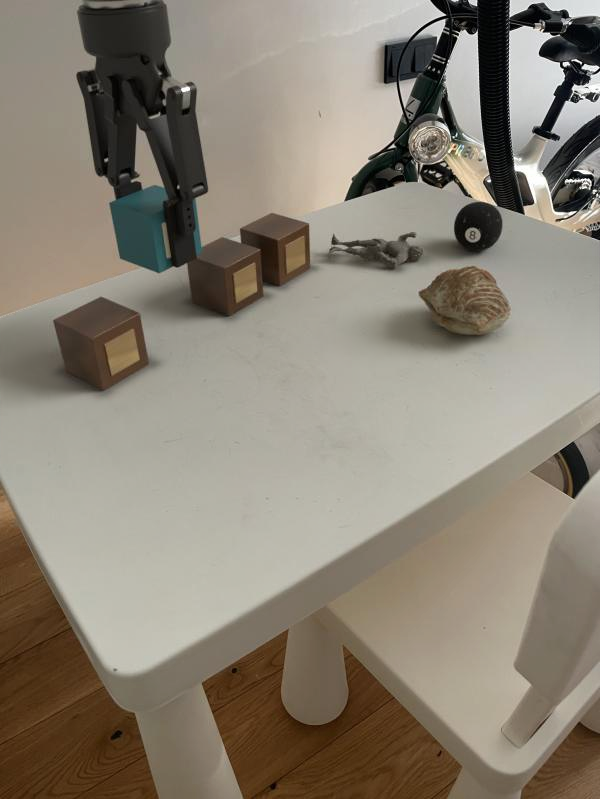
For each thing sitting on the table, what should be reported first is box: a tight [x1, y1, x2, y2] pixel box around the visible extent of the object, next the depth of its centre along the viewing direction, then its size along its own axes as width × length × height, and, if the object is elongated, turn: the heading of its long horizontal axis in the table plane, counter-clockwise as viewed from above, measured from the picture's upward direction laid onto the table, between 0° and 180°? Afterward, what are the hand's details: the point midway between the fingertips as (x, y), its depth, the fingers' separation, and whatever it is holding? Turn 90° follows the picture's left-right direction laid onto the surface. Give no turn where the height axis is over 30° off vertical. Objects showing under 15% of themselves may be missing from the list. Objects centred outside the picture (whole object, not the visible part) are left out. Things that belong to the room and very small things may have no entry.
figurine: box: [328, 231, 425, 269], centre depth 93 cm, size 6×4×12 cm
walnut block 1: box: [52, 296, 150, 391], centre depth 74 cm, size 6×6×6 cm
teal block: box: [108, 184, 203, 274], centre depth 74 cm, size 6×6×6 cm
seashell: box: [418, 265, 511, 336], centre depth 78 cm, size 9×7×8 cm
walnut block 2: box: [186, 236, 264, 317], centre depth 85 cm, size 6×6×6 cm
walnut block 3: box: [239, 212, 311, 287], centre depth 90 cm, size 6×6×6 cm
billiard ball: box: [453, 201, 503, 252], centre depth 94 cm, size 6×6×6 cm
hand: (161, 253), depth 75 cm, fingers closed on teal block, 6 cm apart
